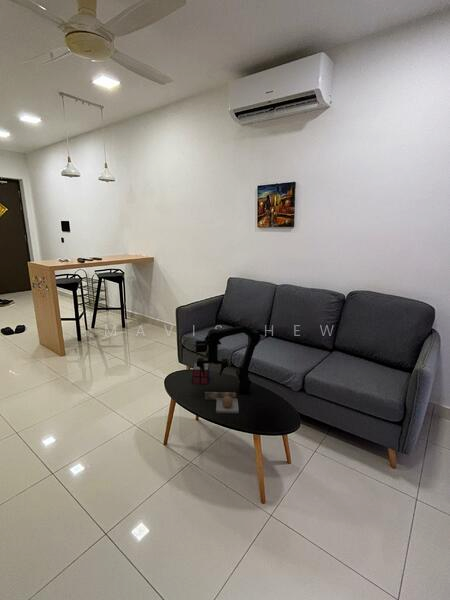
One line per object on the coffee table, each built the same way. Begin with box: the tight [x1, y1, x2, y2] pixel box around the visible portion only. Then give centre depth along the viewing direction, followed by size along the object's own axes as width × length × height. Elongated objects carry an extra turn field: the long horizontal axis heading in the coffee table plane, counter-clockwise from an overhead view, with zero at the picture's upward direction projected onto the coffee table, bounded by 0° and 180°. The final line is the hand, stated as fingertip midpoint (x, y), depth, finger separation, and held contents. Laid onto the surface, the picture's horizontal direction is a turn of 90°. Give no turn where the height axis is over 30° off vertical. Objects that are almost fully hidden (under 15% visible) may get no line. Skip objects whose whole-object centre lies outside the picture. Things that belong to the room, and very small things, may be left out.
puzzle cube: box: [192, 362, 210, 385], centre depth 196 cm, size 10×10×10 cm
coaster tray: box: [215, 398, 240, 414], centre depth 168 cm, size 12×12×2 cm
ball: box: [222, 396, 233, 407], centre depth 167 cm, size 6×6×6 cm
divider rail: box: [204, 391, 237, 400], centre depth 175 cm, size 18×1×4 cm, turn 90°
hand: (212, 375), depth 178 cm, fingers open, 9 cm apart
